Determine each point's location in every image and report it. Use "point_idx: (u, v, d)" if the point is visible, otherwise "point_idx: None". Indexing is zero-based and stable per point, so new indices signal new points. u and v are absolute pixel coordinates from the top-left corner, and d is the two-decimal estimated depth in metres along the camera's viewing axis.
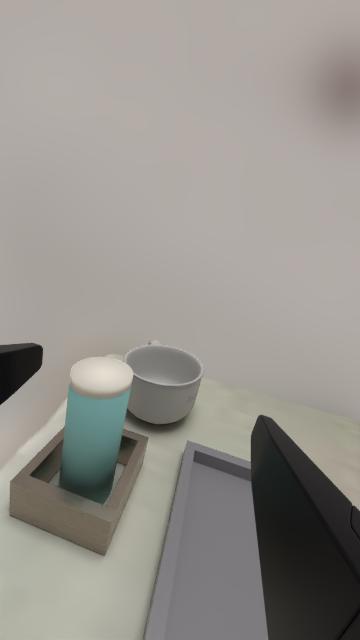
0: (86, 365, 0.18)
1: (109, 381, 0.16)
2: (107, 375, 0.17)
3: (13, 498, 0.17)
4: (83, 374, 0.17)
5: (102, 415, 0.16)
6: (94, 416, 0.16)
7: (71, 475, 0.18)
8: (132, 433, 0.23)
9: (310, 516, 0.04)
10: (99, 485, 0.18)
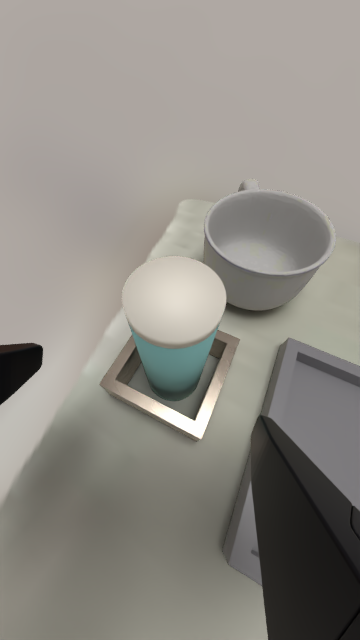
0: (146, 281, 0.10)
1: (186, 320, 0.09)
2: (181, 304, 0.10)
3: (108, 391, 0.18)
4: (142, 304, 0.10)
5: (180, 359, 0.11)
6: (169, 361, 0.11)
7: (156, 384, 0.16)
8: (219, 332, 0.19)
9: (310, 516, 0.04)
10: (185, 390, 0.17)
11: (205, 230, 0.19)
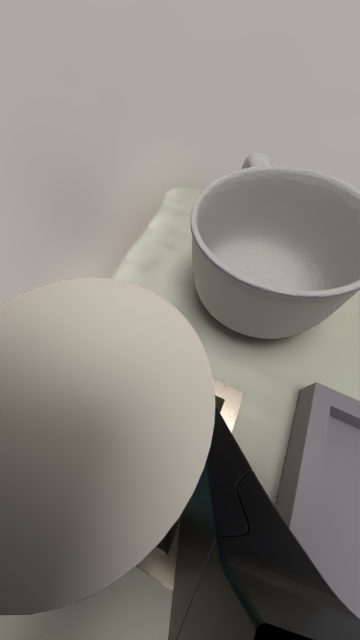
0: None
1: (81, 502, 0.03)
2: (80, 433, 0.03)
3: None
4: None
5: None
6: None
7: None
8: None
9: (205, 478, 0.05)
10: None
11: (192, 224, 0.13)
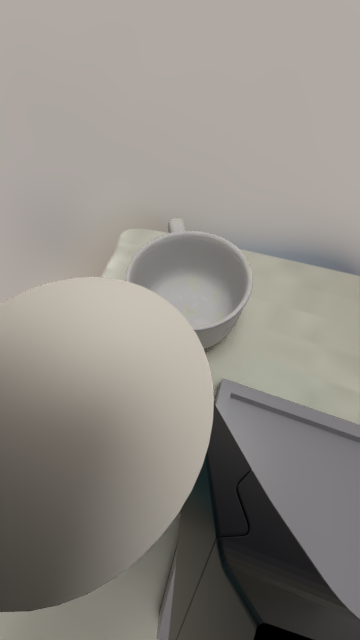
0: None
1: (79, 500, 0.03)
2: (79, 431, 0.03)
3: None
4: None
5: None
6: None
7: None
8: None
9: (205, 478, 0.05)
10: None
11: None
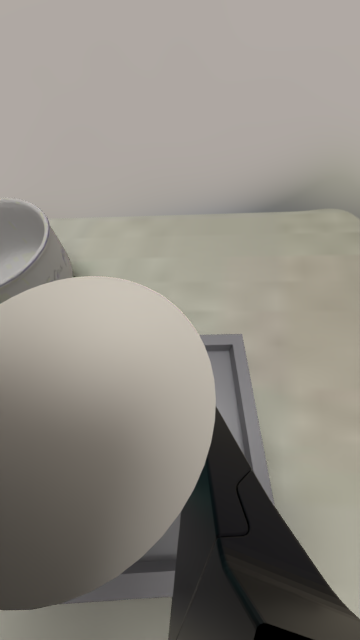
0: (0, 348, 0.04)
1: (82, 498, 0.03)
2: (81, 430, 0.03)
3: None
4: None
5: None
6: None
7: None
8: None
9: (205, 478, 0.05)
10: None
11: None
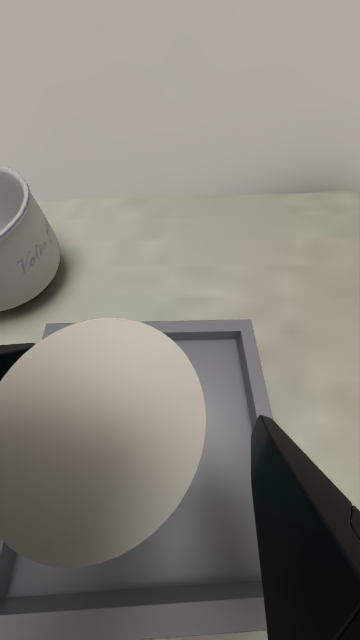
0: (42, 380, 0.05)
1: (109, 493, 0.04)
2: (107, 444, 0.04)
3: None
4: (19, 447, 0.04)
5: None
6: None
7: None
8: None
9: (310, 516, 0.04)
10: None
11: None
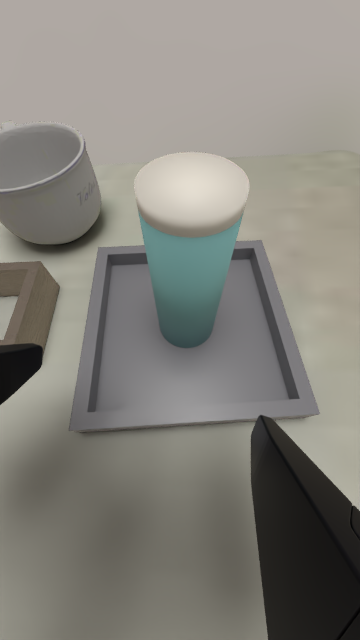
0: (159, 172, 0.09)
1: (206, 202, 0.08)
2: (200, 189, 0.09)
3: None
4: (157, 191, 0.09)
5: (199, 262, 0.10)
6: (188, 264, 0.10)
7: (170, 322, 0.15)
8: (19, 263, 0.19)
9: (310, 516, 0.04)
10: (201, 330, 0.16)
11: None
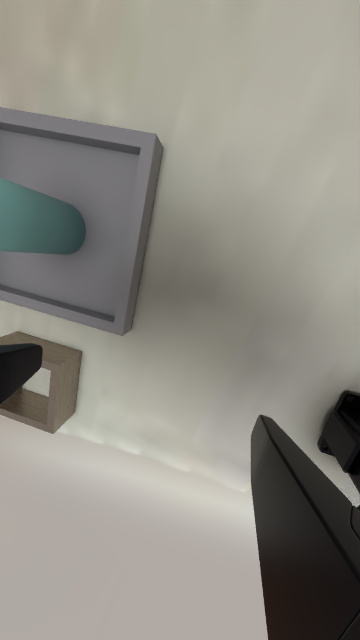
0: None
1: None
2: None
3: (63, 421, 0.25)
4: None
5: None
6: None
7: (50, 244, 0.18)
8: None
9: (310, 516, 0.04)
10: (64, 218, 0.18)
11: None
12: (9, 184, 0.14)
